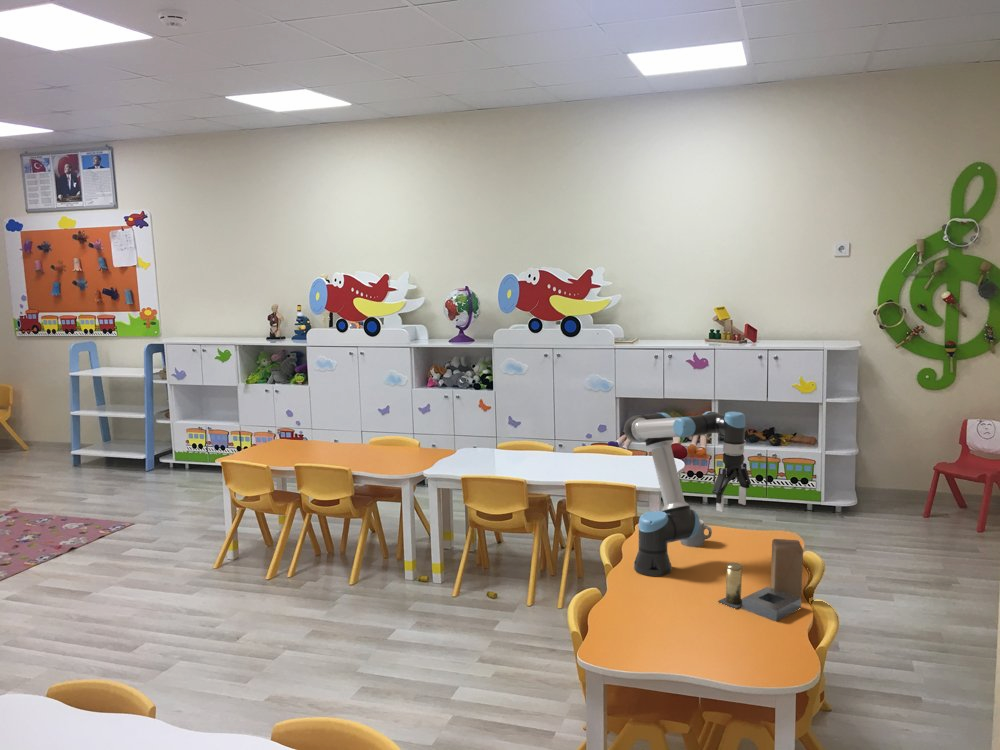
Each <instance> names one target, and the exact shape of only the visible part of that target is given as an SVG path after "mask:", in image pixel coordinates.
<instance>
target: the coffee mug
mask: <svg viewBox="0 0 1000 750" xmlns="http://www.w3.org/2000/svg"><path fill="white" fill-rule="evenodd" d="M699 522H700V526H699V530H698V532H697V534H696V535H695V536H694V537H692V538H689V539H686V540H680V544H681V545H683V546H685V547H689V548H696V547H698V548H699V547H702V546H703V545H704V541H705V540H708V539H710V538H711V537H712V534H713V531H712V527H711V526H709V525H704V523H705V522H704V520H702V519H700V518H699ZM705 530H708V534H705Z"/></svg>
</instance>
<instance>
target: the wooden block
mask: <svg viewBox="0 0 1000 750" xmlns="http://www.w3.org/2000/svg"><path fill="white" fill-rule="evenodd" d="M803 560H804V549H803V547H802V545H801V542H800V540H798V539H784V538H783V539H782V538H774V539H772V541H771V562H770V563H771V564H770V565H771V567H770V571H771V572H770V588H773V589H775V590H778V591H781V592H784V593H787V594H790V595H793V596H796V597H799V598H801V599H802V586H803V584H802V583H803V581H802V580H803Z"/></svg>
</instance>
